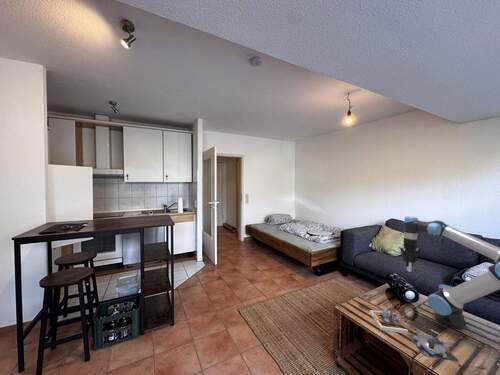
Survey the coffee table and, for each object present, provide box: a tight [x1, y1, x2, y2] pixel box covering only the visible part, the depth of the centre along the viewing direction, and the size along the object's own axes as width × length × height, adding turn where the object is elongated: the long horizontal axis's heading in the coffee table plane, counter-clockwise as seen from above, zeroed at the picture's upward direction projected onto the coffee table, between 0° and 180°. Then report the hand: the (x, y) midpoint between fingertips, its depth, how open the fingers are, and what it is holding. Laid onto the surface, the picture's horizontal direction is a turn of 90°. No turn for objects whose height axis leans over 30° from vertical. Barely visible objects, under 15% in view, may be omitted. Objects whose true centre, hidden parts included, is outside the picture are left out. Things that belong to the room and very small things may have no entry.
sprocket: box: [413, 332, 451, 358], centre depth 113 cm, size 15×15×6 cm
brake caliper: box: [381, 305, 401, 327], centre depth 134 cm, size 11×11×12 cm
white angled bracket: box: [369, 309, 409, 335], centre depth 132 cm, size 15×17×4 cm
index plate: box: [406, 333, 460, 363], centre depth 113 cm, size 16×16×1 cm
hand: (409, 271), depth 145 cm, fingers closed
